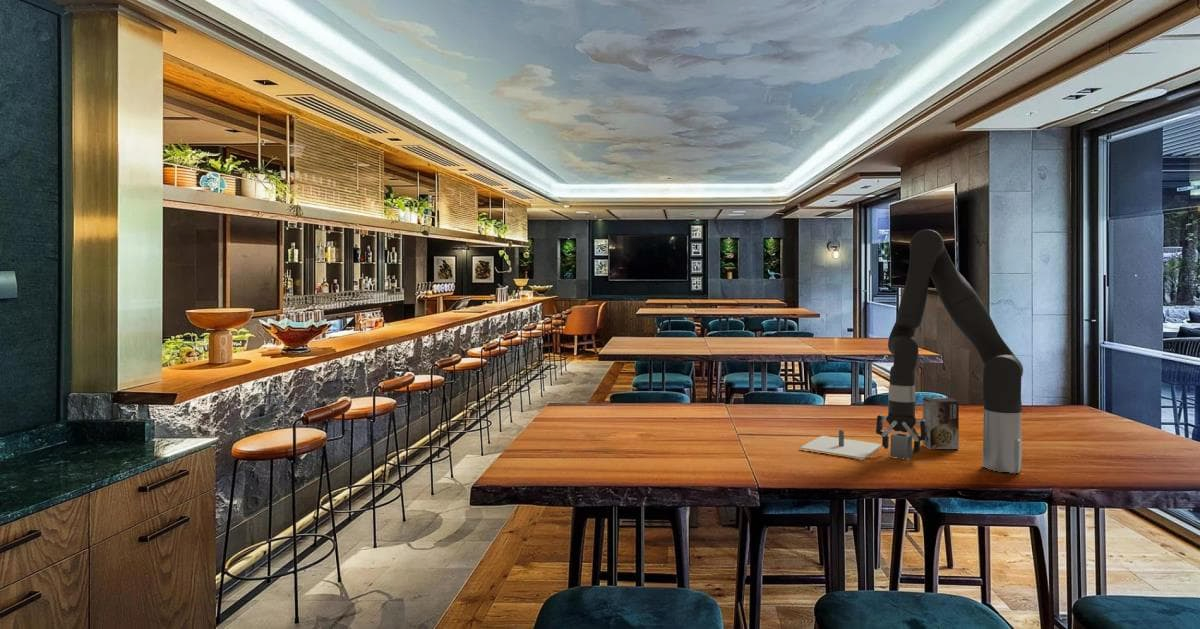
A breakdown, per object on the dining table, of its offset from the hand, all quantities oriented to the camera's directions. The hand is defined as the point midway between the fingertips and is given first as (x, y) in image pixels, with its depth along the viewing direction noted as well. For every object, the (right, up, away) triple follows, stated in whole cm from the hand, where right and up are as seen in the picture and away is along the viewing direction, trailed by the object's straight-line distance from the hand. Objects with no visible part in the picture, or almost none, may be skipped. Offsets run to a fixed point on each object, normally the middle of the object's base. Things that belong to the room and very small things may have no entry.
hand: (900, 450), depth 197 cm
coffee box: (+18, -2, +11) cm, 21 cm away
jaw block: (0, -2, 0) cm, 2 cm away
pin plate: (-15, -2, +11) cm, 18 cm away
